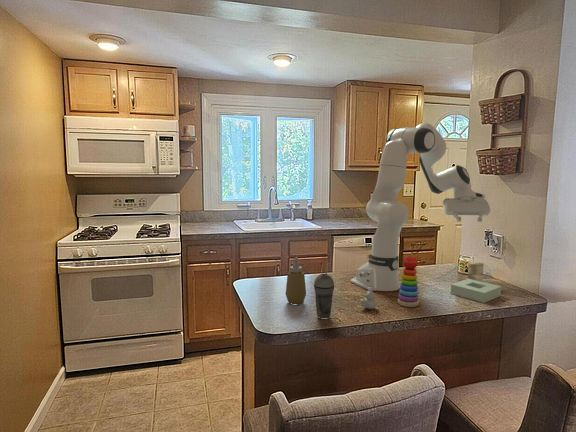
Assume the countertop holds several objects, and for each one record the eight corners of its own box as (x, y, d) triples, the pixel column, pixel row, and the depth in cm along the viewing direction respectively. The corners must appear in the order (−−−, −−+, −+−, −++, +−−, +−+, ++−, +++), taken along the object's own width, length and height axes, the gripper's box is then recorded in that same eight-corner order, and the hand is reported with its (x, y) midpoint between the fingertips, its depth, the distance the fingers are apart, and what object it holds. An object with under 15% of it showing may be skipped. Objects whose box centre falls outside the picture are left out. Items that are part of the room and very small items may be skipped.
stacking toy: (420, 308, 147) (422, 259, 145) (398, 307, 149) (400, 258, 146) (417, 301, 155) (419, 255, 152) (396, 300, 156) (398, 254, 154)
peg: (467, 284, 177) (468, 263, 176) (472, 282, 180) (473, 261, 178) (477, 287, 173) (478, 265, 172) (482, 285, 176) (483, 263, 175)
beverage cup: (314, 312, 143) (314, 258, 140) (334, 313, 142) (335, 259, 139) (312, 320, 135) (313, 264, 133) (333, 321, 134) (334, 264, 132)
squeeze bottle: (291, 308, 147) (291, 261, 145) (281, 301, 154) (281, 256, 152) (310, 304, 151) (310, 258, 148) (299, 298, 158) (300, 254, 156)
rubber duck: (379, 310, 145) (380, 289, 144) (363, 312, 143) (363, 291, 142) (373, 305, 150) (374, 285, 149) (357, 306, 149) (357, 286, 148)
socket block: (450, 293, 164) (451, 284, 164) (467, 287, 173) (468, 278, 172) (483, 302, 153) (484, 293, 153) (500, 295, 162) (501, 286, 161)
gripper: (443, 194, 192) (448, 216, 184) (487, 194, 190) (494, 217, 181) (441, 202, 197) (445, 224, 189) (484, 202, 195) (490, 225, 186)
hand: (469, 221), depth 185 cm, fingers open, 8 cm apart
